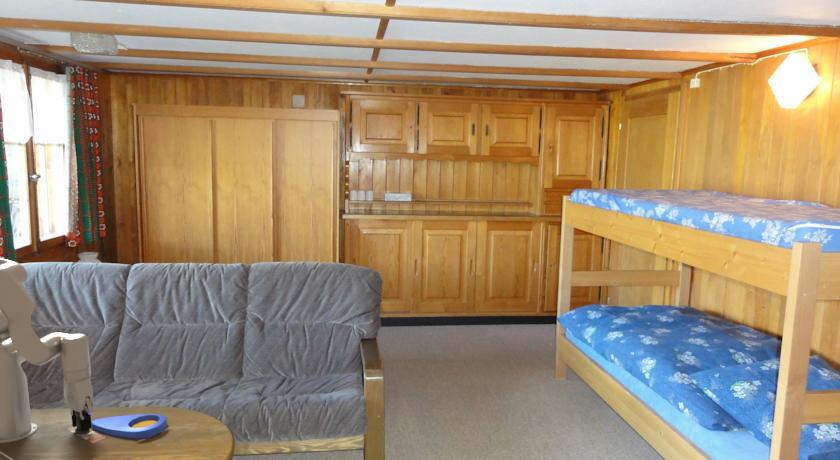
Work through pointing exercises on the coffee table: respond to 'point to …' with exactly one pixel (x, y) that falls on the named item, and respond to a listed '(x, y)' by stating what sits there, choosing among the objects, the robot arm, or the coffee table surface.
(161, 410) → the coffee table surface
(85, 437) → the board
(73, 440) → the coffee table surface
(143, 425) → the location marker
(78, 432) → the pawn
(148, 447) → the coffee table surface
